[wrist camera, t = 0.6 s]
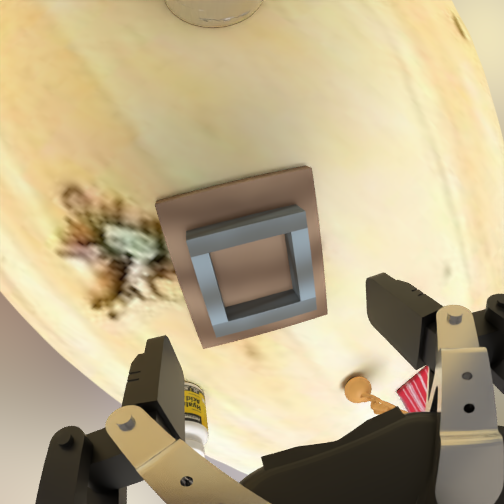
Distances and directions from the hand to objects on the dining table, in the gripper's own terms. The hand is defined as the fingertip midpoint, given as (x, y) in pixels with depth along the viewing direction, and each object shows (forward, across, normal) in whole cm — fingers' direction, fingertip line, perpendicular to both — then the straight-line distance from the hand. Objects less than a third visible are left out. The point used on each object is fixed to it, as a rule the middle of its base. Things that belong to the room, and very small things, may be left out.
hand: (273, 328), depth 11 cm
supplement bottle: (+20, +11, +20) cm, 30 cm away
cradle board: (+18, -1, +4) cm, 19 cm away
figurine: (+21, -13, +27) cm, 37 cm away
